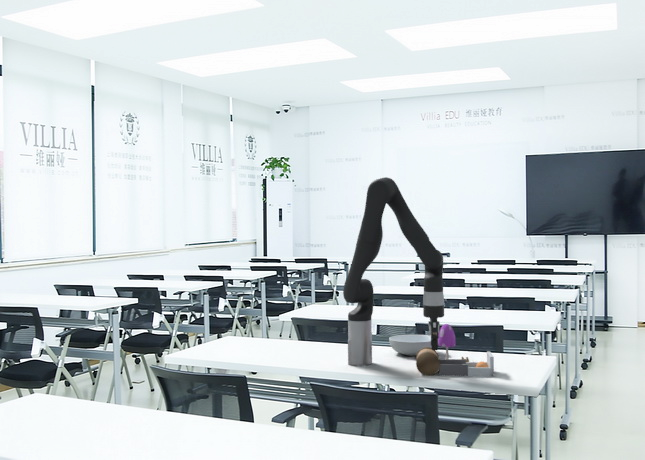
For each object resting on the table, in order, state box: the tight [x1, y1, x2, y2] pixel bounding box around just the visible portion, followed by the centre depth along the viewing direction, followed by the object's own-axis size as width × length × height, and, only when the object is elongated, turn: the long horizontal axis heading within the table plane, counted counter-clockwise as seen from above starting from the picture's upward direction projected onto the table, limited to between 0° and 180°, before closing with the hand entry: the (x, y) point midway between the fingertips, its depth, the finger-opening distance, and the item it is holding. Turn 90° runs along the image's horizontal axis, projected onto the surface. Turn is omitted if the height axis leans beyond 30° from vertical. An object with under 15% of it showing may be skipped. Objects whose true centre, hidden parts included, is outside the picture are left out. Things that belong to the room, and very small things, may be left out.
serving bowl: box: [388, 334, 432, 357], centre depth 270 cm, size 21×21×7 cm
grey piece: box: [438, 351, 495, 378], centre depth 232 cm, size 19×10×7 cm, turn 82°
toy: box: [438, 323, 457, 359], centre depth 252 cm, size 7×7×15 cm
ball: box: [476, 361, 488, 368], centre depth 230 cm, size 4×4×4 cm
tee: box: [461, 356, 470, 362], centre depth 239 cm, size 3×3×4 cm
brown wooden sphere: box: [415, 347, 440, 377], centre depth 234 cm, size 10×8×8 cm
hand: (434, 347), depth 233 cm, fingers open, 8 cm apart
